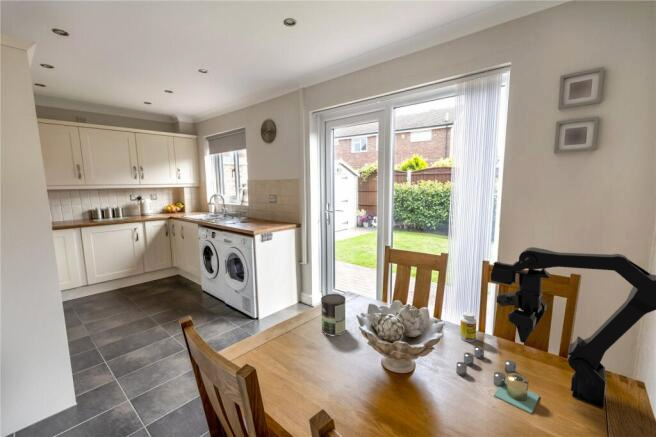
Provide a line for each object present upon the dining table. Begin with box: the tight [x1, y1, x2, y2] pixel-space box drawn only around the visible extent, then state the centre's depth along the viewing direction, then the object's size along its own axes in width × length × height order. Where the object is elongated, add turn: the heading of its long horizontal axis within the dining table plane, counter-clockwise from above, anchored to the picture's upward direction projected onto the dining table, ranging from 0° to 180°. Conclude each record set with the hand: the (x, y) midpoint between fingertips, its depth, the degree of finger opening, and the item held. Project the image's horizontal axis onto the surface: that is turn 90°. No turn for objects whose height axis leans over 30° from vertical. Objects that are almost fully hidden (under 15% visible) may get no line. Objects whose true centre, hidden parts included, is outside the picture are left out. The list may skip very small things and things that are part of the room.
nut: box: [506, 372, 529, 401], centre depth 81 cm, size 5×5×5 cm
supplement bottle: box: [459, 311, 477, 343], centre depth 111 cm, size 6×6×10 cm
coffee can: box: [320, 293, 346, 336], centre depth 120 cm, size 10×10×14 cm
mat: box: [493, 380, 541, 415], centre depth 81 cm, size 9×9×1 cm
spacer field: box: [455, 345, 517, 388], centre depth 92 cm, size 14×16×3 cm
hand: (526, 336), depth 89 cm, fingers open, 9 cm apart
